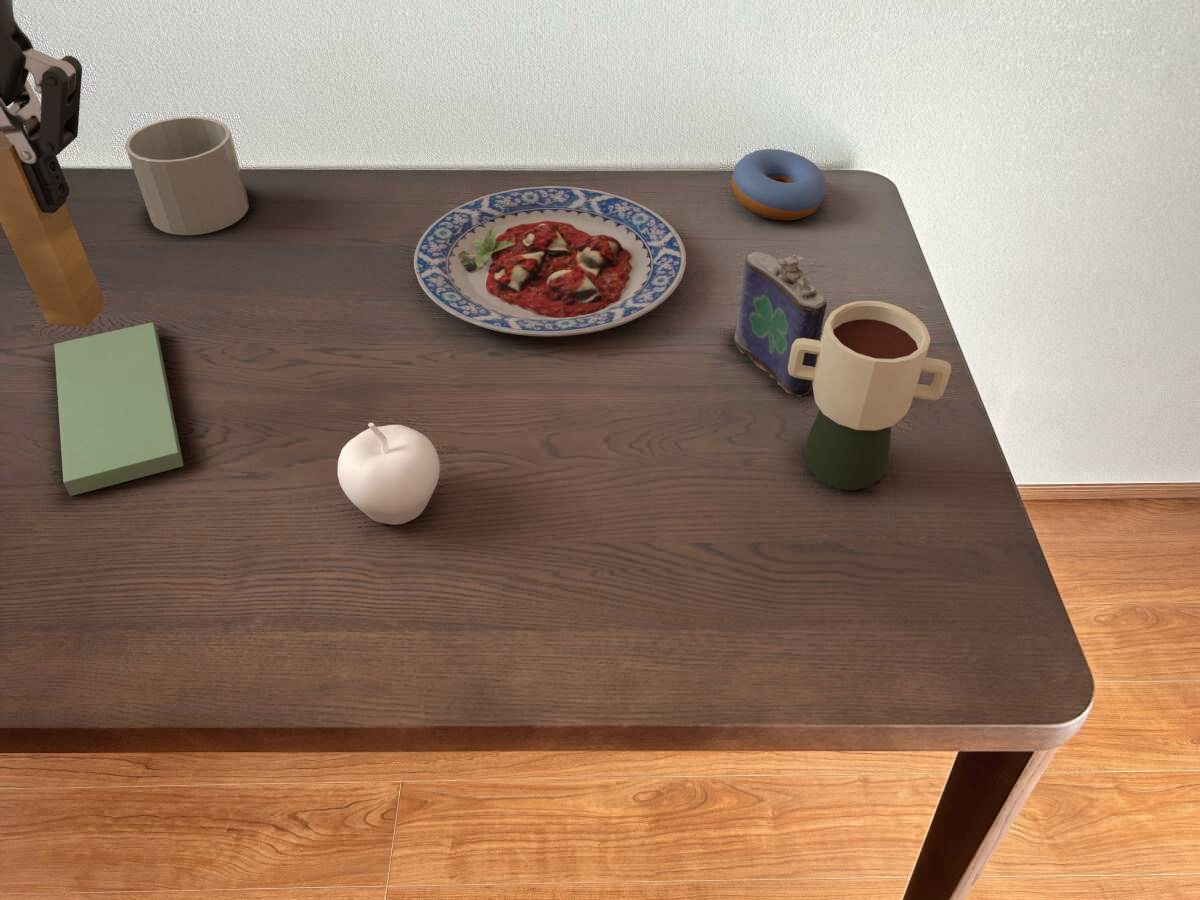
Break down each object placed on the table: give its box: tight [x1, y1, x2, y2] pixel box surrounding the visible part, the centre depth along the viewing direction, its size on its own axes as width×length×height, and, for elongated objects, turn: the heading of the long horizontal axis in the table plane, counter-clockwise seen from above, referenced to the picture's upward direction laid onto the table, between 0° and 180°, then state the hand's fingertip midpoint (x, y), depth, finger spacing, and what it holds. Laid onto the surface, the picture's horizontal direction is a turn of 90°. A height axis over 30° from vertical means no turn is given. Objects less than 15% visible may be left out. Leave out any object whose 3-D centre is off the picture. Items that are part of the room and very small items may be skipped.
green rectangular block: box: [53, 321, 184, 497], centre depth 78 cm, size 18×8×2 cm, turn 24°
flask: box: [734, 251, 828, 398], centre depth 80 cm, size 9×3×11 cm, turn 31°
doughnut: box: [730, 148, 827, 222], centre depth 102 cm, size 10×10×5 cm
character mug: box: [788, 300, 952, 491], centre depth 70 cm, size 11×7×13 cm, turn 76°
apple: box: [337, 422, 441, 526], centre depth 68 cm, size 7×7×8 cm
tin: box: [124, 116, 250, 236], centre depth 98 cm, size 10×10×8 cm
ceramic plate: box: [413, 185, 687, 337], centre depth 93 cm, size 26×26×3 cm
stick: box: [0, 128, 107, 328], centre depth 67 cm, size 3×3×14 cm
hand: (28, 204), depth 66 cm, fingers closed on stick, 3 cm apart
